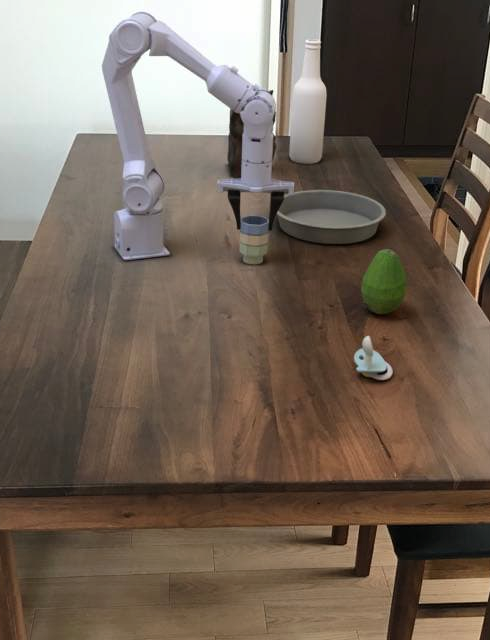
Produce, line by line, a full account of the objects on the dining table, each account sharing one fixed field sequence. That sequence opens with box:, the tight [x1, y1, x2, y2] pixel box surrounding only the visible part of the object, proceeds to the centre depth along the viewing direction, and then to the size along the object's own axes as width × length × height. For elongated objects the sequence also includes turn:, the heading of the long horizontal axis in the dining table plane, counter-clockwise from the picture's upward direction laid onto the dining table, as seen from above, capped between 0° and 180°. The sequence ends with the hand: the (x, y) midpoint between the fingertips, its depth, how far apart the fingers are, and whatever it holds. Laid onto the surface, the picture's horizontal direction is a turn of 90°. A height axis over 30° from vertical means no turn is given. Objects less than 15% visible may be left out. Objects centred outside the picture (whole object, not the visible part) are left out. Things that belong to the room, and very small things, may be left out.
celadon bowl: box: [238, 241, 269, 265], centre depth 177 cm, size 6×6×4 cm
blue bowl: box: [239, 214, 270, 236], centre depth 175 cm, size 6×6×4 cm
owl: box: [227, 89, 277, 179], centre depth 222 cm, size 13×13×20 cm
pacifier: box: [353, 335, 394, 381], centre depth 139 cm, size 7×6×6 cm
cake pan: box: [276, 189, 387, 245], centre depth 195 cm, size 25×25×4 cm
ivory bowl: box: [239, 230, 269, 246], centre depth 176 cm, size 6×6×4 cm
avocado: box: [360, 248, 408, 315], centre depth 157 cm, size 8×8×12 cm
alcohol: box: [288, 38, 328, 165], centre depth 231 cm, size 9×9×30 cm
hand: (254, 228), depth 175 cm, fingers closed on blue bowl, 5 cm apart
